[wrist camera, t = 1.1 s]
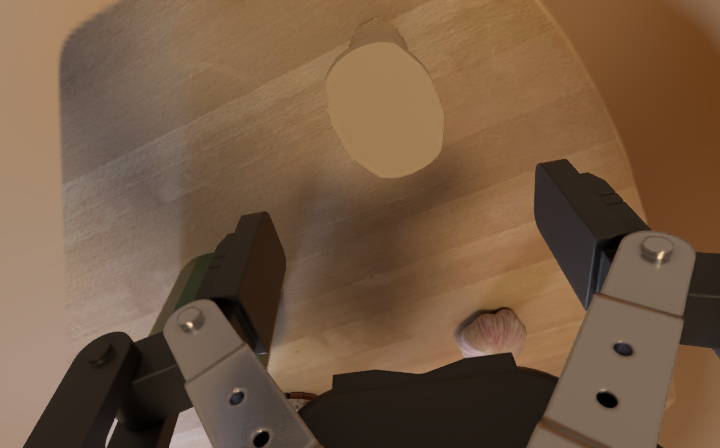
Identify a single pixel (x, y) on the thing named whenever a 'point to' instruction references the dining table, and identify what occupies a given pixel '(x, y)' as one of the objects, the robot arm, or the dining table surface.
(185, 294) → the cup
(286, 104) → the dining table surface
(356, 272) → the dining table surface
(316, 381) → the dining table surface
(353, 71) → the handle
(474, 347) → the garlic bulb
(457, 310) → the dining table surface
